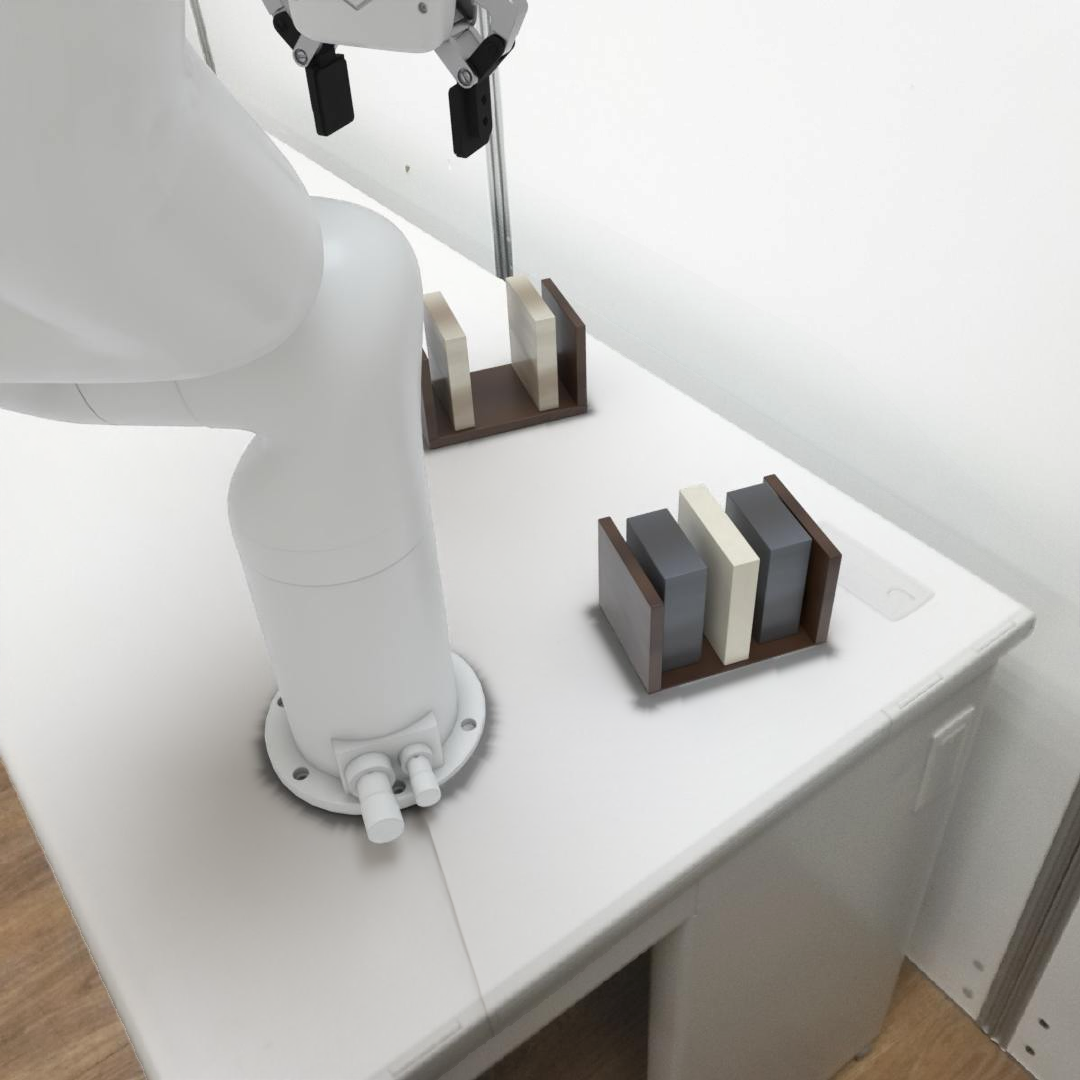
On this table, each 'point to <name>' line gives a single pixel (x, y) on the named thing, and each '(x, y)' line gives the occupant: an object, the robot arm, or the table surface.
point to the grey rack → (681, 578)
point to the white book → (722, 572)
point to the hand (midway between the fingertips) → (402, 139)
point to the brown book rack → (503, 368)
